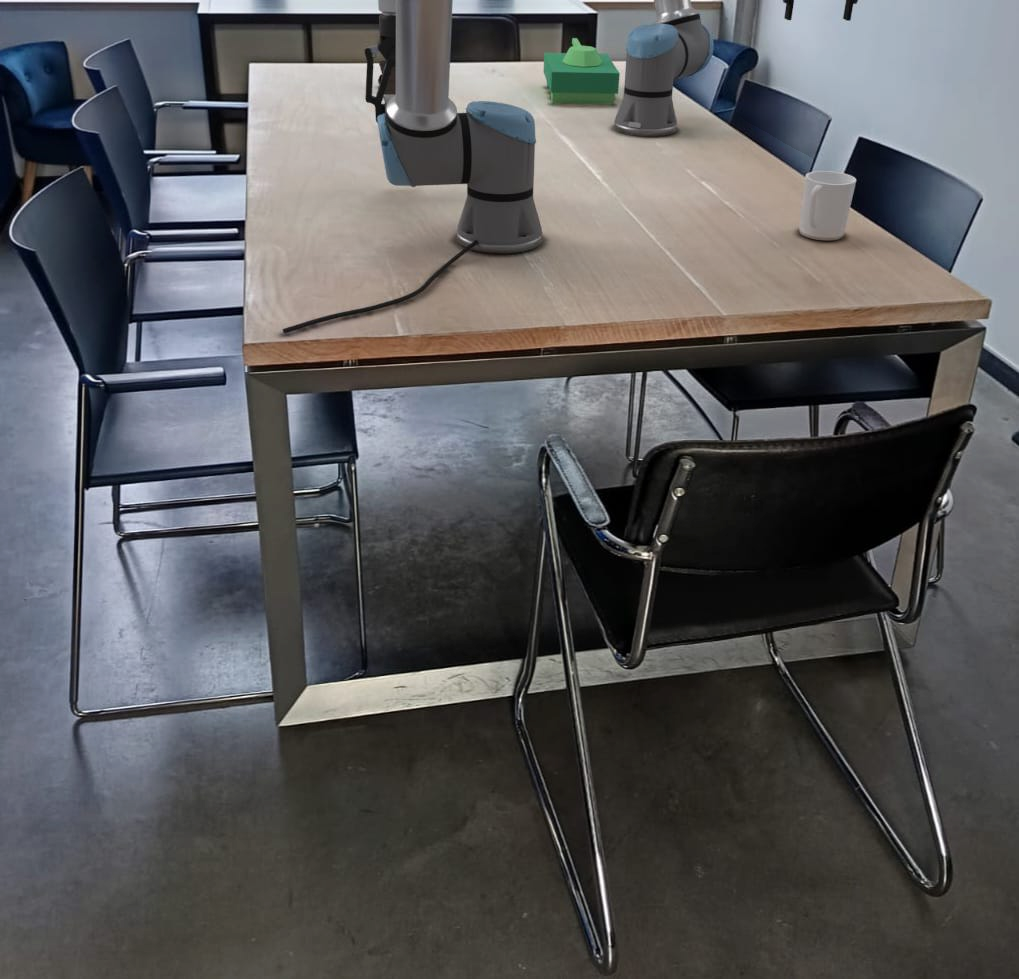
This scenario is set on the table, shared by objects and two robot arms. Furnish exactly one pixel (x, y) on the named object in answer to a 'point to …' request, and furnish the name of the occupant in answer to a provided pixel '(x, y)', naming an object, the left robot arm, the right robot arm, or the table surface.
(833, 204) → the mug
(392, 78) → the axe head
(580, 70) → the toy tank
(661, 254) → the table surface
